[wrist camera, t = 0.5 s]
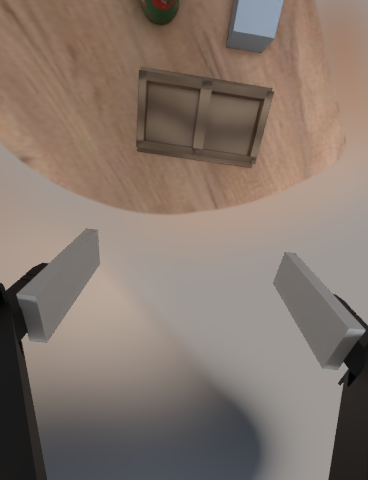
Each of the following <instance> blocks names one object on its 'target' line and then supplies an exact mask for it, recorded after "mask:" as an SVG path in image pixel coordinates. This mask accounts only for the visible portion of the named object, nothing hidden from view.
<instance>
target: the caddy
mask: <svg viewBox="0 0 368 480" xmlns="http://www.w3.org/2000/svg"><path fill="white" fill-rule="evenodd" d="M273 94H274V92H273V91H272V88H266V87H260V86H254V85H248V84H242V83H236V82H229V81H223V80H217V79H211V78H205V77H199V76H193V75H187V74H181V73H175V72H169V71H163V70H156V69H150V68H144V67H140V70H139V90H138V119H137V147H138V148H137V151H140V152H147V153H153V154H160V155H167V156H174V157H181V158H188V159H195V160H202V161H209V162H216V163H223V164H229V165H236V166H243V167H250V168H252V165H253V164H255V162H256V158H257V155H258V151H259V147H260V143H261V140H262V136H263V132H264V128H265V124H266V121H267V117H268V113H269V109H270V105H271V102H272V98H273Z"/></svg>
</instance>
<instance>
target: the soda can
mask: <svg viewBox="0 0 368 480" xmlns="http://www.w3.org/2000/svg"><path fill="white" fill-rule="evenodd" d="M139 1H140V3H141V6H142V9H143V11H144V13H145V15H146V16H147V17H148V18H149V19H150V20H151V21H153V22H155V23H158V24H163V23H166V22H168V21H170V20H171V19H172V18H173V17H174V15H175V14H176V12H177V9H178V6H179V0H139Z"/></svg>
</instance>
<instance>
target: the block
mask: <svg viewBox="0 0 368 480" xmlns="http://www.w3.org/2000/svg"><path fill="white" fill-rule="evenodd" d="M282 4H283V0H234V4H233V10H232V15H231V21H230V27H229V33H228V39H227V45H226V47H229V48H235V49H240V50H246V51H252V52H258V53H262V52H263V50H264V49H265V48H266V47H267V46H268V45H269V44H270V43H271V41H272V40H273V39H274V38H275V33H276V29H277V25H278V21H279V17H280V13H281V9H282Z"/></svg>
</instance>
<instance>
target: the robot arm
mask: <svg viewBox="0 0 368 480" xmlns="http://www.w3.org/2000/svg"><path fill="white" fill-rule="evenodd" d="M98 242H99V241H98V230H93V229H85V230H84V231H83V232H82V233H81V234H80V235H79V236H78V237H77V238H76V239H75V240H74V241H73V242H72V243H71V244H69V245H68V246H67V247H66V248H65V249H64V250H63V251H62V252H61V253H60V254H59V255H58V256H57V257H56V258H55V259H54V260H52V261H51V263H41V264H39V265H37V266H35V267H33V268H32V269H31V270H29V271H28V272H27V273H26V275H24V276H23V277H22V278H20V280H18V281H17V282H16V283H15V284H13V285H12V286H11V287H10V288H9V289H8V290H6V291H5V288H4V286H3V284H2V283H0V480H47V476H46V471H45V465H44V460H43V455H42V449H41V444H40V438H39V432H38V427H37V422H36V416H35V411H34V406H33V400H32V394H31V389H30V384H29V378H28V373H27V367H26V362H25V356H24V351H23V345H22V342H21V339H22V338H23V337H24V336H25V334H26V333H28V336H29V340H30V341H35V342H45V343H47V341H48V340H49V339H50V337H51V336H52V334H53V333H54V331H55V330H56V328H57V327H58V325H59V324H60V322H61V321H62V319H63V318H64V316H65V315H66V313H67V312H68V311H69V309H70V307H71V306H72V305H73V303H74V302H75V300H76V299H77V297H78V296H79V294H80V293H81V291H82V290H83V288H84V287H85V285H86V284H87V282H88V281H89V279H90V278H91V276H92V275H93V273H94V272H95V270H96V269H97V267H98V266H99V264H100V260H99V244H98ZM273 284H274V286H275V287H276V289H277V291H278V293H279V294H280V296H281V298H282V299H283V301H284V303H285V305H286V306H287V308H288V310H289V312H290V313H291V315H292V317H293V318H294V320H295V322H296V323H297V325H298V327H299V329H300V331H301V332H302V334H303V336H304V337H305V339H306V341H307V342H308V344H309V346H310V348H311V349H312V351H313V353H314V355H315V356H316V358H317V360H318V362H319V363H320V365H321V367H322V368H323V369H333V370H338V368H339V367H340V366H341V364H342V363H343V362H344V363H345V364H346V366H347V367H348V368H349V369H348V370H347V372H346V373H345V375H344V376H343V377H342V378H341V380H340V381H339V383H338V384H339V385H341V384H342V383H344V384H343V391H342V397H341V403H340V410H339V417H338V423H337V429H336V435H335V442H334V449H333V455H332V462H331V467H330V474H329V480H368V326H367V324H366V323H365V322H364V321H363V320H362V319H361V318H360V317H359V316H358V315H356V313H355V312H354V311H353V310H352V309H351V308H350V306H348V304H347V303H346V302H345V301H344V300H342V299H341V298H339V297H338V296H337V295H335V294H332V293H331V291H330V290H329V289H328V288H327V287H326V286H325V285H324V284H323V283H322V282H321V281H320V279H319V278H318V277H317V276H316V275H315V274H314V273H313V272H312V271H311V270H310V269H309V267H307V265H306V264H305V263H304V262H303V261H302V260H301V259H300V258H299V257H298V256H297V254H296V253H289V252H285V253H284V256H283V259H282V261H281V264H280V266H279V269H278V271H277V274H276V277H275V279H274V282H273Z"/></svg>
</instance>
